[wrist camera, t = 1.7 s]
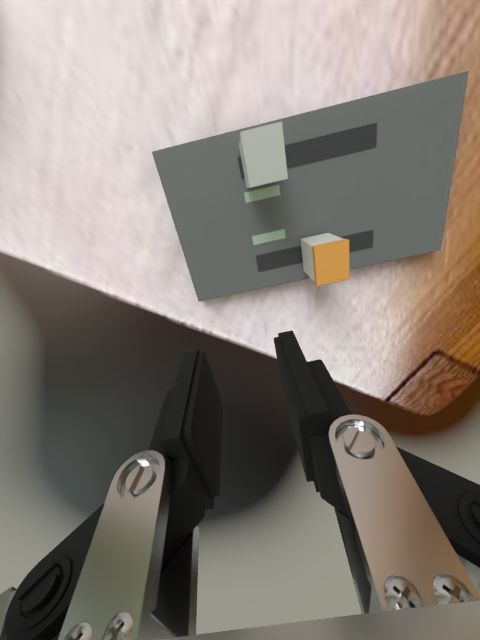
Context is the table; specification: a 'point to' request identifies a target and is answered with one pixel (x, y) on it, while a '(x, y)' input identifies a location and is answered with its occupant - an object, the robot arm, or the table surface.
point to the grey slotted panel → (319, 188)
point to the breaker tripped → (325, 258)
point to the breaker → (263, 155)
